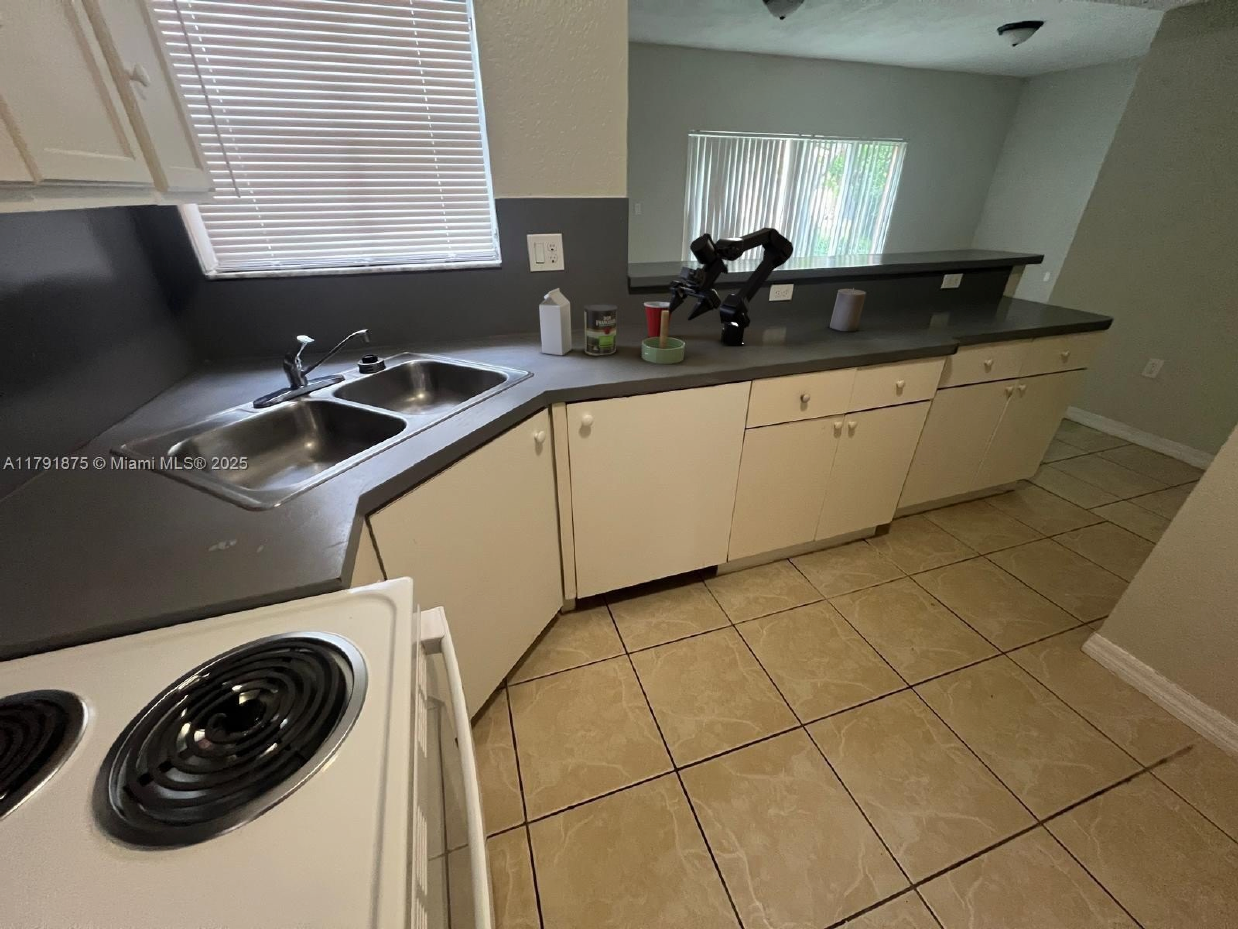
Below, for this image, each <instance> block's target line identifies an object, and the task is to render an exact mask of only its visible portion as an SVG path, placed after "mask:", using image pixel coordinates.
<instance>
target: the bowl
mask: <svg viewBox="0 0 1238 929" xmlns="http://www.w3.org/2000/svg"><path fill="white" fill-rule="evenodd" d="M659 348H660V337H652V338H650V337H647V338H645V339H643V340H642V341H641V348H640V350H641V351H640V357H641V359H643V360H644V361H646V362H648V363H652V364H661V365H670V364H677V363H680V362H682V361H683V360H684V358H685V351H686V350H685V349H686V343H685V341H683V340H681V339H678V338H675V337H670V336H669V337H668V336H667V349H659Z"/></svg>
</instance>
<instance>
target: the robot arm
mask: <svg viewBox="0 0 1238 929" xmlns="http://www.w3.org/2000/svg"><path fill="white" fill-rule="evenodd" d="M758 247H762V248H763V253H762V260H761V261H760V263H759V264H758V265H757V267H755V269H754V270H753V272H752V273H751V274H750V275H749V277H748V279H747V280H746V281H745V283H744V284H743V285H742V286H741V288H740V289H739V290H738V292H737V293H736V294H731V293H729V294H728V295H726V297H725V299H724V300H723V301H722V299H721V297H720V295H719V294H718V293H717V291H716V289H715V287H716V286H717V285H716V284H715V282H716V281H717V280H718V278H719V277H720V276H721V274H724V275H728V274H729V268H728V267H729V265H728V264H727V263H725V262H724V261H729V262H734V261H736V260H738V259H739V258H740V257H742V256H743V254H744V253H745V252H747V251H750V250H752V249H755V248H758ZM689 249H690V251H691V253H692V254H693V256H694V258H695V259H696V261H697V263H698V264H699V265H702V267H696V269H695V268H691V267H686V266H682V267H681V270H680V273H679V275H678V278H679V279H682V280H684V281H685V282H684V283H683V281H679V280H671V281H670V282H669V284H668V286H667V287H668V288H669V291H670V292H671V297H670V301H669V303H670V304H669V307H668V311H669V314H671V313H672V314H673V313H674V312H675V311H676V310H677V309H678V308H679V307H680V306H681V305H682V304H684V302H685V300H686V299H687V298H688V297H692V298H696V299H697V301H696V303H695V305H694V306H693V308H692V310H691V311H690V313H689V314H688V315H687V318H686V319H687V321H692V320H694V319H696V318H698V317H700V316H701V315H703V314H705V313H707V312H708V313H709V311H714V310H718V309H719V319H720V323H721V324H724V325H723V327H722V329H721V336H720V341H721V342H722V344H723V345H725V346H744V345H745V343H744V342H743V341H744V335H745V329H747V328H749V327H750V324H751V319H750V317H749V315H748V312H749V308H750V302H751V301H752V300H753V298H754V297H755V295H756V294H757V293H758V292H759V291H760V289H761V287H762V286H763V285H764V284H765V283H766V281H767V279H768V278H769V277H770V276H771V274H773V272H774V270H775V269H777V268H779V267H781V266H783V265H784V264H785V263H786V262H787V261H788V260H789V259H790V258H791V257H792V256H793V253H794V246H793V242H792V241H790V240H789V239H788V238H787V237H786V236H783V235H782V234H781V233H780V232H779V231H778V229H776V228H774V227H762V228H761V229H758V230H756V231H753V232H751V233H748V234H745V235H741V236H739V237H724V238H719V239H717V240H716V241H715V242H714V240H713V238H712V236H711V234H710V233H708V232H707V233H706V232H704V233H703V234H702V235H701V236H699V237H697V238H695V239H694V240H692V241H691V243H690V246H689ZM685 285H686V286H688V287H686V286H685ZM672 314H671V315H672Z"/></svg>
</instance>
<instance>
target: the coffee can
mask: <svg viewBox="0 0 1238 929" xmlns="http://www.w3.org/2000/svg"><path fill="white" fill-rule="evenodd" d="M583 310H584V311H583V312H584V314H583V315H584V353H585V354H587V355H590V356H595V357H599V356H600V355H601V356H603V355H611V354H614V353H615V352H616V351H617V314H618V312H617V310H618V306H617V305H615V304H611V303H605V302H604V303H603V302H599V303H598V302H597V303H589V304H585V305H584V306H583Z"/></svg>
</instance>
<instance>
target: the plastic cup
mask: <svg viewBox="0 0 1238 929" xmlns="http://www.w3.org/2000/svg"><path fill="white" fill-rule="evenodd" d="M669 304H670V302H668V301H645V302H644V303H643V305H644V308H645V313H646V314H645V315H646V322H647V329H648V336H649V337H648V338H652V337H660V332H661V316H662V311H663V310H667V311H668V307H669ZM672 314H673V312H672V313H671V314H669V321H668V328H669V327H670V322H671V318H672Z"/></svg>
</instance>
